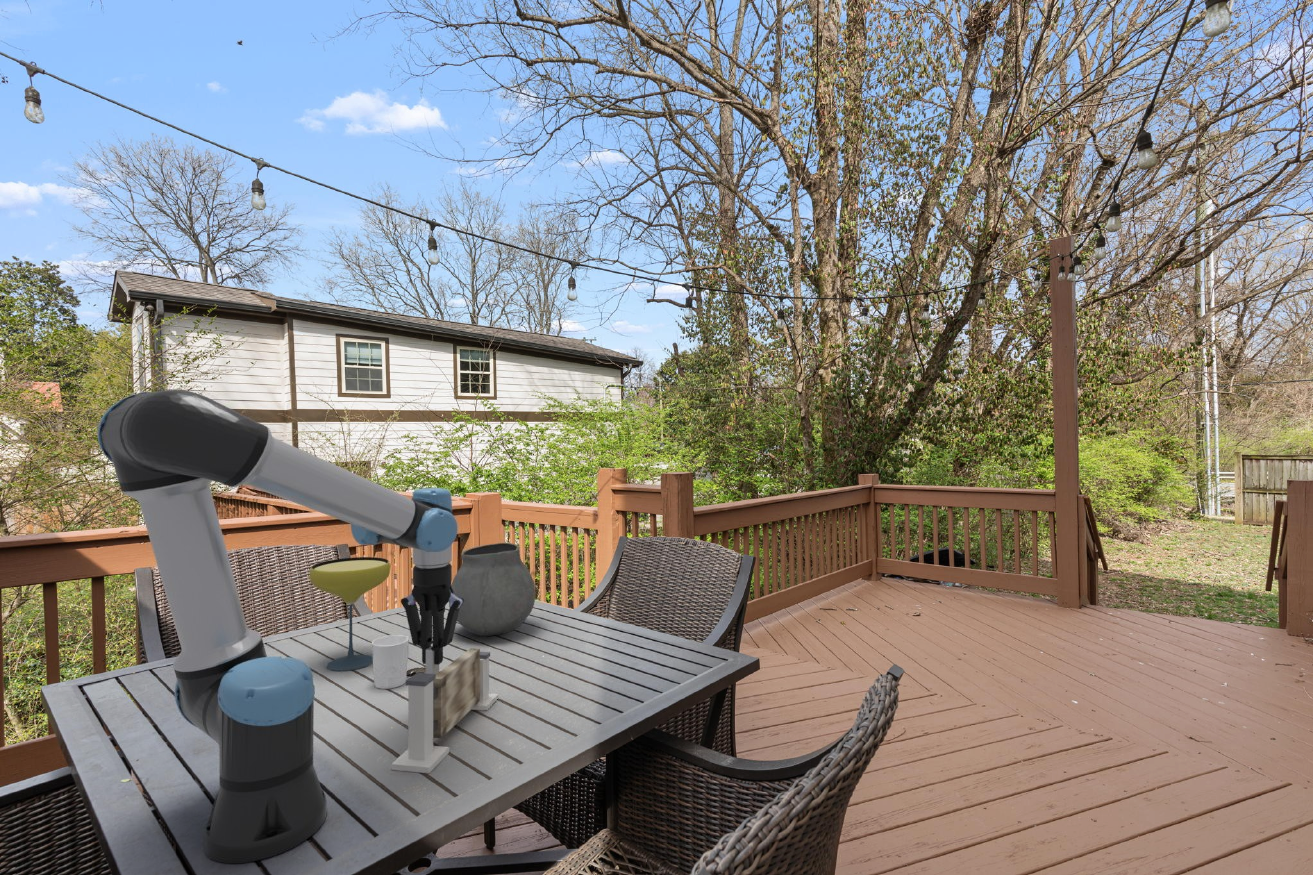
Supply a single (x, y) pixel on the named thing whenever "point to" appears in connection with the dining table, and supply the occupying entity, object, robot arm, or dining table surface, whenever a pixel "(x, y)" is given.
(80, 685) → the dining table surface
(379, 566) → the cocktail glass
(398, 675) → the white cup
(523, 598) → the ceramic pot
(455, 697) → the gate
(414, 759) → the hinge post
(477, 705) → the latch post
